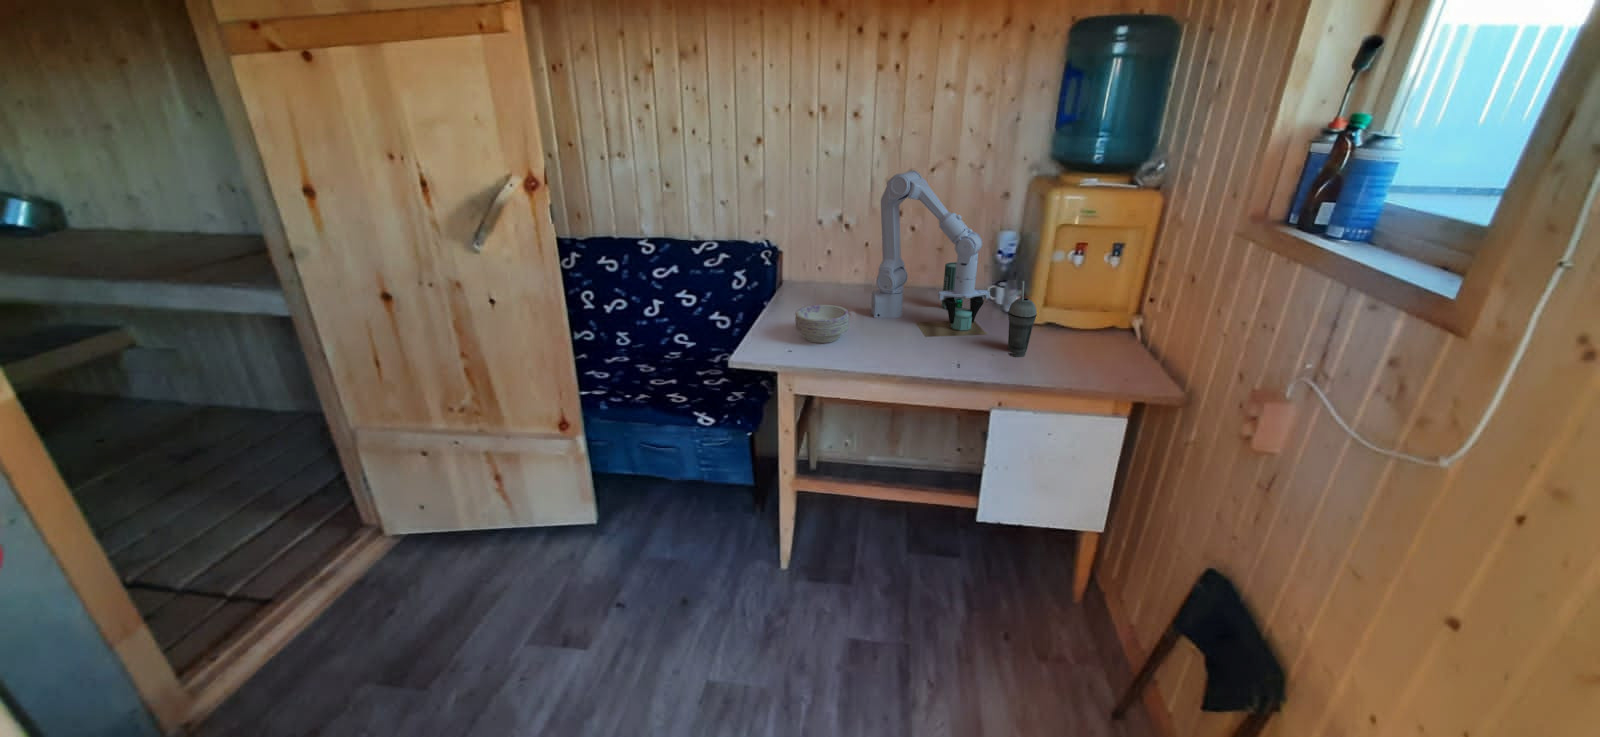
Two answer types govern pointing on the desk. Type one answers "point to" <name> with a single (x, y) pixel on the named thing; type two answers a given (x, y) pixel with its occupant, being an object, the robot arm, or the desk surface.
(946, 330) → the board
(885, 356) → the desk surface
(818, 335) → the paper bowls
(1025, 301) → the beverage cup
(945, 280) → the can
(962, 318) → the cap
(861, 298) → the desk surface
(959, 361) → the desk surface
